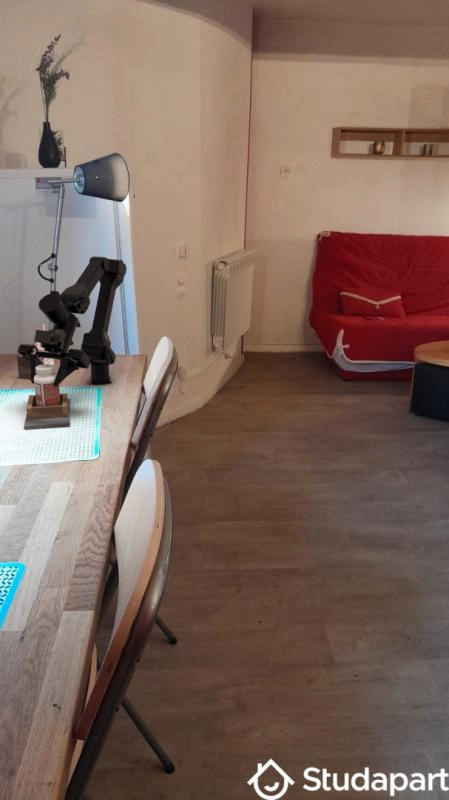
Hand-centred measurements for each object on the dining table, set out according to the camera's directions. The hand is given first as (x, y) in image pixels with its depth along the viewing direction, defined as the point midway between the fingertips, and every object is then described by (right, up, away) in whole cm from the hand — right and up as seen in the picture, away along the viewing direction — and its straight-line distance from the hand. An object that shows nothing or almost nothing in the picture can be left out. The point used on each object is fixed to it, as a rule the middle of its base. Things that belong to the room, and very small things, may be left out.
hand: (43, 384), depth 145 cm
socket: (0, -8, +4) cm, 9 cm away
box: (-14, +3, +34) cm, 37 cm away
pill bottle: (0, -6, +4) cm, 7 cm away
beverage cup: (-13, +8, +45) cm, 48 cm away
